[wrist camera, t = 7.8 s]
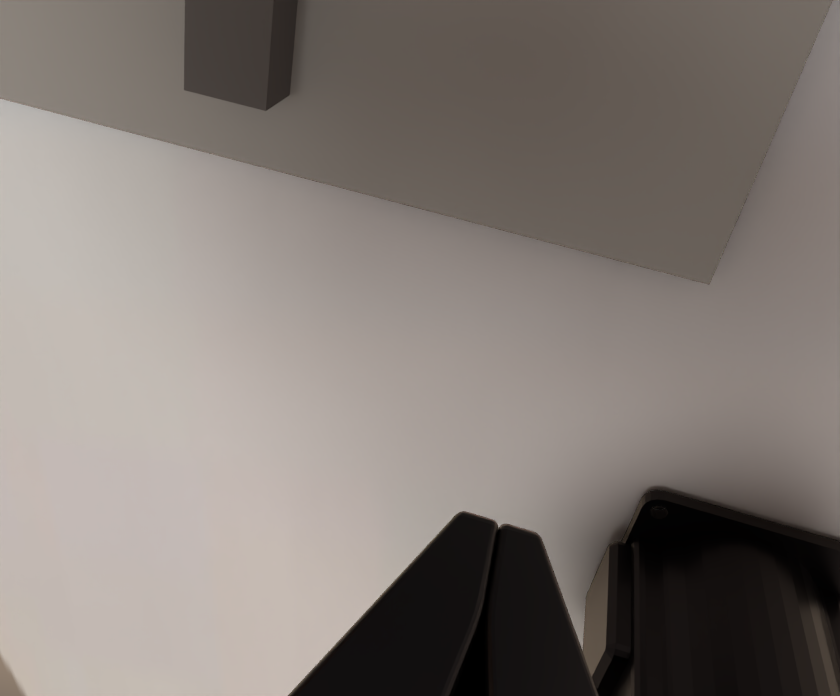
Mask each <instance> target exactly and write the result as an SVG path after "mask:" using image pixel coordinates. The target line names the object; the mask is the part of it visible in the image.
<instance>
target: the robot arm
mask: <svg viewBox="0 0 840 696" xmlns="http://www.w3.org/2000/svg"><path fill="white" fill-rule="evenodd" d="M654 506H663V507H664V509H661V510H656V509H654V508H652V507H654ZM288 696H840V542H839V541H836V540H832V539H829V538H825V537H822V536H818V535H815V534H811V533H808V532H804V531H801V530H797V529H794V528H791V527H787V526H784V525H780V524H777V523H773V522H770V521H766V520H763V519H759V518H756V517H753V516H749V515H746V514H742V513H739V512H735V511H732V510H728V509H725V508H721V507H718V506H714V505H711V504H708V503H704V502H701V501H697V500H694V499H690V498H687V497H683V496H680V495H676V494H673V493H669V492H666V491H661V490H654V491H650V492H648V493H646V494H645V495H644V496H643V497H642V499H641V501H640V503H639V505H638V507H637V510H636V512H635V514H634V516H633V518H632V520H631V523H630V525H629V527H628V529H627V531H626V533H625V536H624V538H623V540H622V542H619V541H616V542H614V543H612V544H611V545H609V546H608V548H607V551H606V553H605V555H604V557H603V559H602V562H601V564H600V566H599V568H598V571H597V573H596V575H595V577H594V580H593V582H592V584H591V586H590V588H589V591H588V593H587V596H586V608H585V623H584V639H583V651H582V649H581V646H580V643H579V640H578V638H577V635H576V632H575V629H574V626H573V624H572V621H571V618H570V615H569V613H568V610H567V607H566V604H565V602H564V599H563V596H562V593H561V591H560V588H559V585H558V582H557V579H556V577H555V574H554V571H553V568H552V566H551V563H550V560H549V557H548V555H547V552H546V549H545V546H544V544H543V541H542V539H541V537H540V536H539V535H538V534H537V533H535V532H533V531H530V530H526V529H523V528H520V527H516V526H513V525H510V524H502V525H501V526H500V527H499V528H498V525H497V523H496V521H495V520H493V519H489V518H486V517H483V516H479V515H476V514H473V513H469V512H466V511H462V512H459V513H458V514H456V515H455V516H454V517H453V518H452V520H451V521H450V522H449V523H448V524H447V525H446V526H445V527H444V528H443V529H442V530H441V531H440V532H439V534H438V535H437V536H436V537H435V538H434V539H433V540H432V541H431V542H430V543H429V544H428V545H427V546H426V548H425V549H424V550H423V551H422V552H421V553H420V554H419V555H418V556H417V557H416V558H415V559H414V560H413V562H412V563H411V564H410V565H409V566H408V567H407V568H406V569H405V570H404V571H403V572H402V573H401V574H400V576H399V577H398V578H397V579H396V580H395V581H394V582H393V583H392V584H391V585H390V586H389V587H388V588H387V590H386V591H385V592H384V593H383V594H382V595H381V596H380V597H379V598H378V599H377V600H376V601H375V602H374V604H373V605H372V606H371V607H370V608H369V609H368V610H367V611H366V612H365V613H364V614H363V615H362V616H361V618H360V619H359V620H358V621H357V622H356V623H355V624H354V625H353V626H352V627H351V628H350V629H349V630H348V632H347V633H346V634H345V635H344V636H343V637H342V638H341V639H340V640H339V641H338V642H337V643H336V644H335V646H334V647H333V648H332V649H331V650H330V651H329V652H328V653H327V654H326V655H325V656H324V657H323V658H322V660H321V661H320V662H319V663H318V664H317V665H316V666H315V667H314V668H313V669H312V670H311V671H310V672H309V674H308V675H307V676H306V677H305V678H304V679H303V680H302V681H301V682H300V683H299V684H298V685H297V686H296V688H295V689H294V690H293V691H292V692H291V693H290V694H289V695H288Z"/></svg>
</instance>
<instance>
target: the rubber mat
mask: <svg viewBox="0 0 840 696" xmlns="http://www.w3.org/2000/svg"><path fill="white" fill-rule="evenodd" d="M832 1H833V0H0V99H4V100H8V101H12V102H16V103H19V104H23V105H27V106H31V107H35V108H38V109H42V110H46V111H50V112H54V113H57V114H61V115H65V116H69V117H73V118H77V119H80V120H84V121H88V122H92V123H96V124H99V125H103V126H107V127H111V128H115V129H118V130H122V131H126V132H130V133H134V134H138V135H141V136H145V137H149V138H153V139H157V140H160V141H164V142H168V143H172V144H176V145H179V146H183V147H187V148H191V149H195V150H199V151H202V152H206V153H210V154H214V155H218V156H221V157H225V158H229V159H233V160H237V161H240V162H244V163H248V164H252V165H256V166H260V167H263V168H267V169H271V170H275V171H279V172H282V173H286V174H290V175H294V176H298V177H301V178H305V179H309V180H313V181H317V182H320V183H324V184H328V185H332V186H336V187H340V188H343V189H347V190H351V191H355V192H359V193H362V194H366V195H370V196H374V197H378V198H381V199H385V200H389V201H393V202H397V203H401V204H404V205H408V206H412V207H416V208H420V209H423V210H427V211H431V212H435V213H439V214H442V215H446V216H450V217H454V218H458V219H462V220H465V221H469V222H473V223H477V224H481V225H484V226H488V227H492V228H496V229H500V230H503V231H507V232H511V233H515V234H519V235H523V236H526V237H530V238H534V239H538V240H542V241H545V242H549V243H553V244H557V245H561V246H564V247H568V248H572V249H576V250H580V251H584V252H587V253H591V254H595V255H599V256H603V257H606V258H610V259H614V260H618V261H622V262H625V263H629V264H633V265H637V266H641V267H644V268H648V269H652V270H656V271H660V272H664V273H667V274H671V275H675V276H679V277H683V278H686V279H690V280H694V281H698V282H702V283H705V284H710V282H711V279H712V277H713V275H714V272H715V270H716V268H717V265H718V263H719V261H720V259H721V256H722V254H723V252H724V249H725V247H726V245H727V242H728V240H729V238H730V236H731V233H732V231H733V229H734V226H735V224H736V222H737V219H738V217H739V215H740V213H741V210H742V208H743V206H744V203H745V201H746V199H747V196H748V194H749V192H750V190H751V187H752V185H753V183H754V180H755V178H756V176H757V173H758V171H759V169H760V167H761V164H762V162H763V160H764V157H765V155H766V153H767V150H768V148H769V146H770V143H771V141H772V139H773V137H774V134H775V132H776V130H777V127H778V125H779V123H780V120H781V118H782V116H783V114H784V111H785V109H786V107H787V104H788V102H789V100H790V97H791V95H792V93H793V91H794V88H795V86H796V84H797V81H798V79H799V77H800V74H801V72H802V70H803V68H804V65H805V63H806V61H807V58H808V56H809V54H810V51H811V49H812V47H813V45H814V42H815V40H816V38H817V35H818V33H819V31H820V28H821V26H822V24H823V22H824V19H825V17H826V15H827V12H828V10H829V8H830V5H831V3H832Z"/></svg>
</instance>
